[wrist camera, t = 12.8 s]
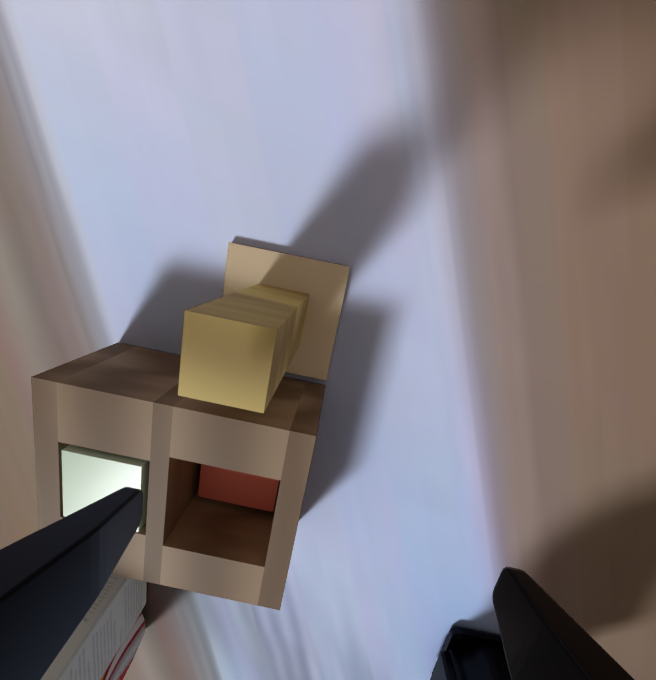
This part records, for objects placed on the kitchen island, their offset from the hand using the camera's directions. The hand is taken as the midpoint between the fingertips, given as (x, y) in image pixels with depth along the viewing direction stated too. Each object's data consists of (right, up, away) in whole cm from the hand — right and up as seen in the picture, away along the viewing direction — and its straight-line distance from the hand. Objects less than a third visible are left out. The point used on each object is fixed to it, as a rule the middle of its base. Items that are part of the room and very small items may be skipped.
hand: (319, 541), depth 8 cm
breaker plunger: (-5, -2, +14) cm, 15 cm away
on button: (-11, -2, +11) cm, 16 cm away
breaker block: (-7, -2, +14) cm, 16 cm away
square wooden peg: (-3, +6, +11) cm, 13 cm away
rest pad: (-3, +6, +12) cm, 14 cm away
